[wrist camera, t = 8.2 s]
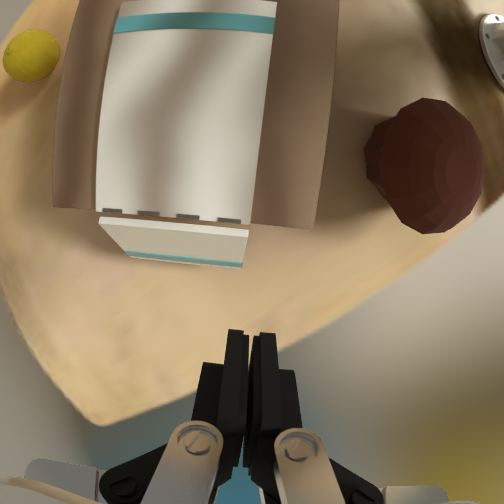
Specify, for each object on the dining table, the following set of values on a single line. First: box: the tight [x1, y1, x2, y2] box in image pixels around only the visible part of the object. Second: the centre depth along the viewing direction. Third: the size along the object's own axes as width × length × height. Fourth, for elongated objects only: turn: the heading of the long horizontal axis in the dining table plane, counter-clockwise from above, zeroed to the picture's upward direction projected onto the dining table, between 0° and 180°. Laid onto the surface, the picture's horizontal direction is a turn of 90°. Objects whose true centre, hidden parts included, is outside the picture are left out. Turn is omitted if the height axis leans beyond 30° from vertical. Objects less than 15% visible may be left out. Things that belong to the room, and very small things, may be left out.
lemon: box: [3, 30, 60, 82], centre depth 18 cm, size 6×6×8 cm
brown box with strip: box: [53, 0, 339, 230], centre depth 20 cm, size 18×16×11 cm
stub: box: [98, 216, 249, 269], centre depth 22 cm, size 10×8×1 cm
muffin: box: [364, 98, 485, 234], centre depth 22 cm, size 12×11×10 cm
